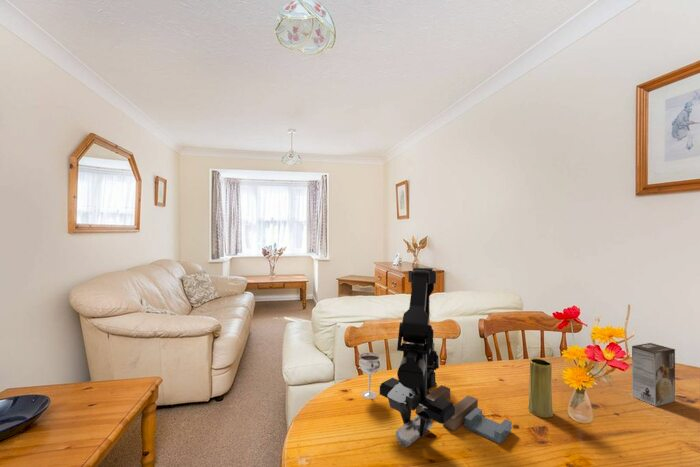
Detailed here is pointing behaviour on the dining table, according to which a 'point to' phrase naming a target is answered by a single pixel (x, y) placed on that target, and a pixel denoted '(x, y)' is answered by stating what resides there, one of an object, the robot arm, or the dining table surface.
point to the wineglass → (369, 370)
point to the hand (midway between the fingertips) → (414, 432)
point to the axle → (410, 432)
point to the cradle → (487, 426)
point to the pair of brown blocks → (460, 408)
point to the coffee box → (653, 373)
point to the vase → (540, 388)
